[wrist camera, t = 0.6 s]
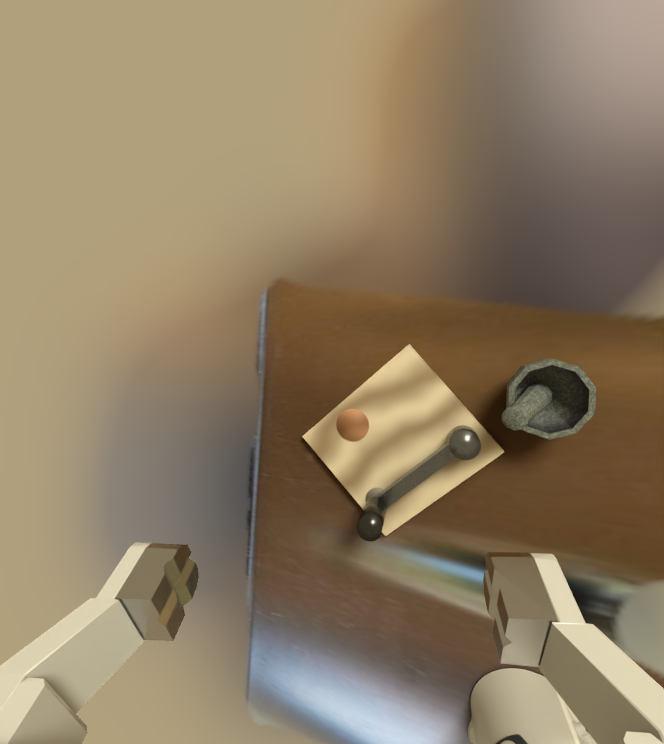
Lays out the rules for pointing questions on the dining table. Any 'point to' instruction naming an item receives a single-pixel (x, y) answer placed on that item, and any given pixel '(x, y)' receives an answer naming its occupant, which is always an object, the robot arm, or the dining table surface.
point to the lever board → (397, 436)
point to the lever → (417, 479)
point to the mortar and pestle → (549, 399)
